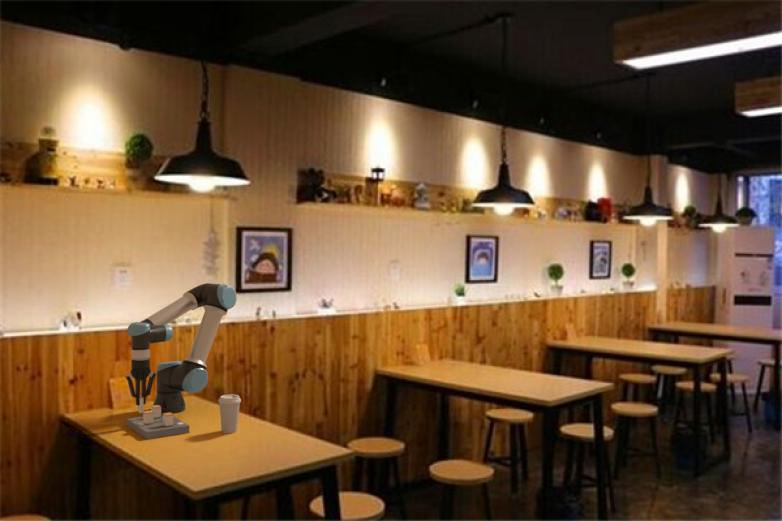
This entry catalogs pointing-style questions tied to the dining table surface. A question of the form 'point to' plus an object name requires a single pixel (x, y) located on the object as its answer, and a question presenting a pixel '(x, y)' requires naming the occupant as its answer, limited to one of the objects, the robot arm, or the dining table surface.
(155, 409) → the slider
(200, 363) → the robot arm
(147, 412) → the slider mid
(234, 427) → the coffee cup
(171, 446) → the dining table surface
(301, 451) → the dining table surface
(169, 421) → the slider
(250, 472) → the dining table surface
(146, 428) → the switch unit
